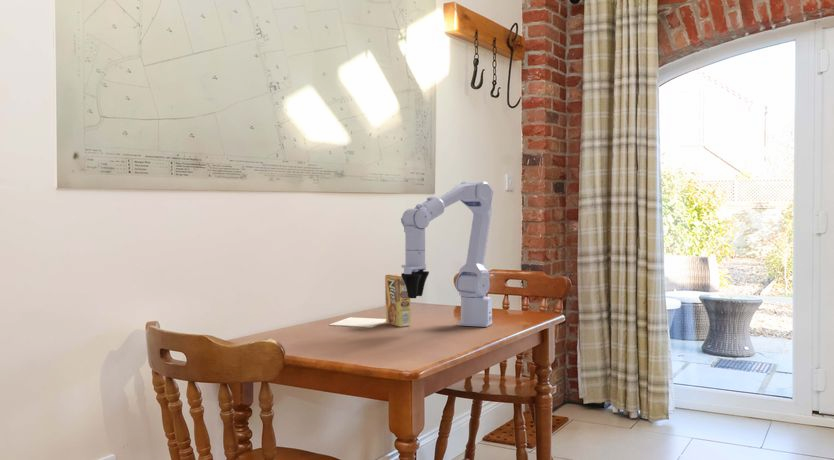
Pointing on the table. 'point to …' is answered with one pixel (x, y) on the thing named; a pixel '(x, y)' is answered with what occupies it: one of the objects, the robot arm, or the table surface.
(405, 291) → the candy box
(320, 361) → the table surface
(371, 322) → the placemat
